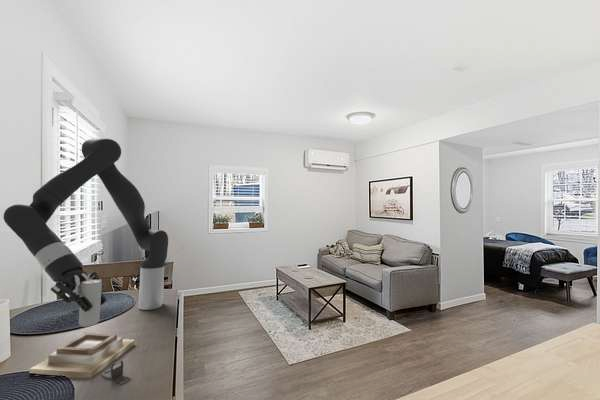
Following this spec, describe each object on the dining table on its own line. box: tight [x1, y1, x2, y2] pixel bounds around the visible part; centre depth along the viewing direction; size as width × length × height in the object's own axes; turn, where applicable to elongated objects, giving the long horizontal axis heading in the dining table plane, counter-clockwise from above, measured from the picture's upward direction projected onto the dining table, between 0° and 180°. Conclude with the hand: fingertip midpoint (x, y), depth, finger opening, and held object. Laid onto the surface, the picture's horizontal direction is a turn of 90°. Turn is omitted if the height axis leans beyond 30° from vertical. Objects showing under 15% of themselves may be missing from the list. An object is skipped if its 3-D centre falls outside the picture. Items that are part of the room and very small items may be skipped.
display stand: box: [28, 332, 136, 379], centre depth 80 cm, size 18×16×5 cm
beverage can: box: [78, 279, 103, 328], centre depth 81 cm, size 5×5×12 cm
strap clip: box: [101, 360, 132, 386], centre depth 72 cm, size 8×3×4 cm, turn 62°
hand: (96, 305), depth 81 cm, fingers closed on beverage can, 4 cm apart
